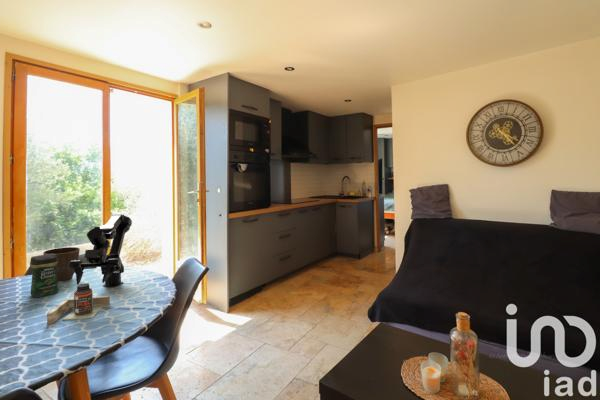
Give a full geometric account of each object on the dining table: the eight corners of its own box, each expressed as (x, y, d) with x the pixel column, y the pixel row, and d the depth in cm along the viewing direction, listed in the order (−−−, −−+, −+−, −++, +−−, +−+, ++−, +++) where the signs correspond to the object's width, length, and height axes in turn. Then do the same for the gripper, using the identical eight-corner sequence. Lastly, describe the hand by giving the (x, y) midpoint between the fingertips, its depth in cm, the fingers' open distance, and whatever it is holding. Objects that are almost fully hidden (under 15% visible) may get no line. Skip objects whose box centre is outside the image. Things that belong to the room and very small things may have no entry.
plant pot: (85, 278, 156) (84, 249, 155) (50, 287, 143) (49, 255, 142) (73, 273, 164) (73, 246, 163) (39, 281, 151) (38, 251, 150)
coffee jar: (34, 299, 129) (32, 258, 127) (28, 295, 133) (26, 255, 132) (61, 292, 137) (59, 254, 135) (55, 289, 141) (53, 251, 140)
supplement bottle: (77, 317, 112) (76, 288, 111) (72, 312, 116) (71, 285, 115) (95, 311, 117) (94, 284, 116) (89, 307, 120) (89, 281, 120)
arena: (66, 308, 120) (66, 299, 120) (110, 304, 125) (109, 295, 124) (47, 324, 107) (46, 313, 107) (96, 319, 111) (96, 309, 111)
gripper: (69, 242, 123) (56, 276, 113) (118, 240, 128) (110, 272, 118) (78, 255, 131) (67, 288, 122) (124, 253, 136) (117, 284, 127)
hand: (90, 283), depth 122 cm, fingers open, 9 cm apart
